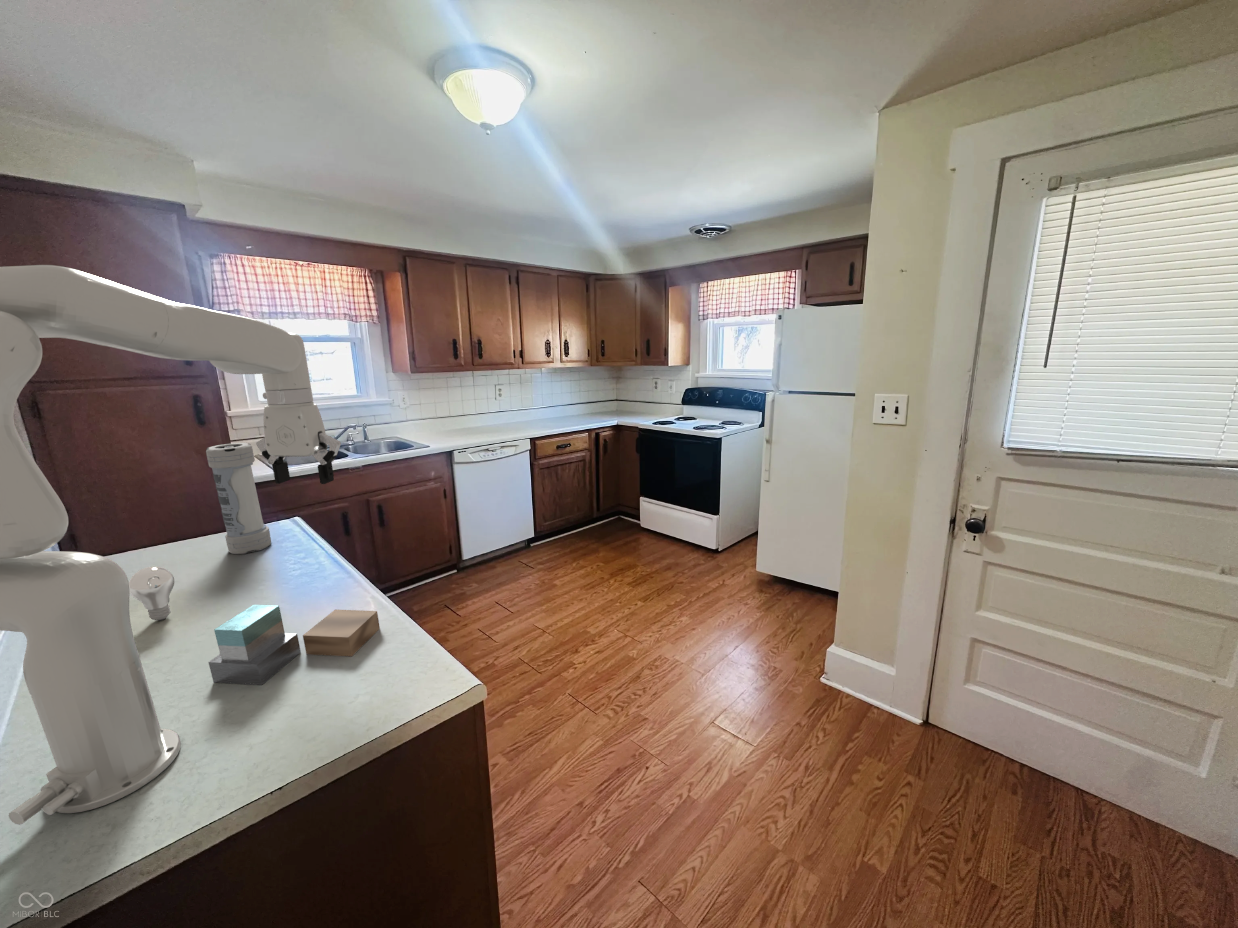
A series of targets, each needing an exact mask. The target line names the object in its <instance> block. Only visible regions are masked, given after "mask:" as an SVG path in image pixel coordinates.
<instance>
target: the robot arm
mask: <svg viewBox="0 0 1238 928" xmlns="http://www.w3.org/2000/svg"><path fill="white" fill-rule="evenodd" d="M40 338H41V339H43V338H44V339H47V338H48V339H50V338H51V339H53V338H57V339H58V338H59V339H60V338H61V339H67V340H68V339H69V340H75V341H81V342H85V343H90V344H93V345H94V344H95V345H98V346H103V347H110V348H114V349H118V350H124V351H128V352H133V353H136V354H141V355H146V356H150V357H152V358H153V357H154V358H158V359H159V358H160V359H166V360H168V359H170V360H177V361H194V362H195V361H196V362H197V361H201V362H202V361H209V363H210V365H212V366H213V367H214V368H216V369H218V370H219V371H222V372H225V373H228V374H233V375H261V377H262V380H263V387H264V392H263V393H262V398H263V399H264V400H266V402H267V405H265V406H264V409H263V432H264V437H263V438H261V439H260V440H258V441H256V443H255V445H256V446H257V448H258V450H259V451H260V452H261V455H262V456H263V457H264V458H265V459H266V460H267V463H268V465H271V466H272V467H271V468H272V472H273V477H274V483H275V484H276V485H277V484H279V485H280V484H282V483H285V482H287V481H290V480H291V475H290V470H289V465H288V461H287V460H286V461H284V460H285V458H286V457H287V458H294V457H295V458H296V457H297V458H298V457H300V458H303V457H311V456H312V457H313V458H314V459H315V460H316V461H317V462H318V463H319V464H317V470H318V471H317V473H318V477H319V482H320V484H321V485H326V484H328V483H331V482H333V481H334V479H335V477H334V475H335V474H334V469H333V462H334V461H335V458H336V457H337V456H338V455H339V451H340V447H341V445H342V443H341V441H340V440H338V439H336V438H334V437H332V436H330V435H328V434H327V433H326V429H325V425H324V422H323V421H324V420H323V418H322V415H321V413H320V410H319V408H318V405H317V403H314V396H313V390H312V386H311V379H310V373H309V368H308V367H309V366H308V361H307V354H306V349H305V344H304V340H303V338H302V337H301V335H299V334H297V333H293V332H287V331H286V330H284V329H282V328H280V327H277V326H274V325H272V324H269V323H266V322H264V321H260V320H257V319H254V318H250V317H247V316H246V317H245V316H241V315H239V314H238V315H237V314H234V313H233V314H232V313H228V312H224V311H218V310H213V309H208V308H205V307H200V306H196V305H192V304H186V303H180V302H175V301H172V300H168V299H166V298H163V297H160V296H156V295H154V294H151V293H148V292H146V291H145V292H144V291H141V290H139V289H135V288H132V287H130V286H127V285H123V284H120V283H117V282H115V281H112V280H109V279H105V278H103V277H99V276H97V275H94V274H91V273H87V272H84V271H81V270H79V269H75V268H71V267H65V266H60V265H53V264H36V265H35V264H34V265H16V266H15V265H13V266H9V265H8V266H0V631H1V632H2V631H4V632H5V631H6V632H13V633H22V634H24V637H25V638H26V648H25V652H24V656H23V661H22V662H23V663H22V673H23V677H24V681H25V684H26V687H27V690H28V693H29V695H30V696H31V699H32V702H33V705H34V708H35V710H36V713H37V715H38V718H39V721H40V725H41V728H42V729H43V730H42V731H43V732H44V736H45V738H46V741H47V744H48V745H49V749H50V752H51V754H52V756H53V759H54V763H55V767H54V768H52V769H50V770H49V771H48V772H47V773H46V774H45V775H46V778H47V780H48V782H47V783H46V784H44V785H43V786H41V788H40V791H39V792H38V793H36V794H35V795H33V796H32V797H30V798H29V799H27V800H25V801H24V802H23V803H22V804H20V805H18V806H17V807H16V808H14V809H13V810H11V812H9V813H8V819H9V821H11V822H12V823H14V824H15V825H20V826H21V825H23V824H24V823H26V822H27V821H29V820H30V819H31V818H32V817H33V816H35V815H37V814H38V813H40V811H43V812H44V813H45V814H46V815H49V816H51V815H54V813H60V814H74V813H81V812H82V813H83V812H86V811H90V810H94V809H98V808H100V807H103V806H106V805H109V804H111V803H114V802H115V801H116V802H117V800H118V801H119V800H120V799H123V798H124V797H126V796H128V795H130V794H132V793H134V792H135V791H137V790H139V789H141V788H142V787H143V786H145V785H147V784H148V783H150V782H152V781H153V780H154V779H155V778H156V777H158V776H159V775H160V774H161V773H163V772H164V771H165V770H167V768H168V767H169V766H170V765H171V764H172V763H173V761H174V760H175V758H176V757H177V756H178V755H179V752H180V750H181V746H182V743H181V742H182V741H181V738H180V735H179V734H178V732H176V731H174V730H173V729H168V728H161V725H160V722H159V719H158V715H157V712H156V708H155V705H154V701H153V698H152V695H151V694H152V693H151V690H150V688H149V685H148V681H147V678H146V675H145V674H146V673H145V671H144V668H143V664H142V660H141V658H140V657H141V656H140V654H139V651H138V648H137V644H136V641H135V637H134V633H133V628H132V623H131V616H130V615H131V614H130V596H131V594H130V592H129V581H130V580H129V578H128V576H127V574H126V572H125V570H124V568H122V567H121V566H120V565H119V564H118V563H116V562H115V561H113V560H112V559H110V558H108V557H105V556H103V555H98V554H95V553H90V552H81V551H62V550H61V551H60V550H57V551H56V550H55V551H54V550H50V551H49V549H50V548H52V547H53V546H55V545H57V543H59V542H60V541H61V540H62V539H63V538H64V537H65V536H66V533H67V531H68V527H69V516H68V513H67V510H66V507H65V506H64V504H63V502H62V500H61V499H60V497H59V495H58V494H57V492H56V491H55V490H54V488H53V487H52V485H51V484H50V482H49V480H48V479H47V477H46V476H45V474H44V473H43V471H42V470H41V469H40V467H39V466H38V464H37V463H36V461H35V460H34V458H33V457H32V455H31V454H30V452H29V450H28V449H27V448H26V446H25V443H24V442H23V440H22V439H21V436H20V434H19V432H18V429H17V428H16V425H15V420H14V416H15V415H14V414H15V407H16V403H17V400H18V398H19V397H20V394H21V392H22V390H23V388H25V386H26V385H27V383H28V382H29V381H31V380H30V379H32V377H33V376H34V375H35V374H36V372H37V371H38V369H39V367H40V365H41V363H42V358H43V346H42V342H41V339H40ZM328 447H329V450H328Z"/></svg>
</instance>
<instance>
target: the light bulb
mask: <svg viewBox="0 0 1238 928" xmlns="http://www.w3.org/2000/svg"><path fill="white" fill-rule="evenodd" d="M128 581H129V593H130V596H132V598H134V599H135V600H137V601H138V602H140V603H142V605H143V607H144V608H145V609H146V611H147V613H148V618H149V619H151V620H154V621H157V622H162V621H165V620H166V618H167V617H169V615H170V614H171V608H170V605H169V603H170V595H171V593H172V591H173V589H174V586H175V576H174V575H173V573H172V572H171V570H169V569H167V568H165V567H161V566H156V565H155V566H147V567H144V568H141V569H140V570H138V571H136V572H135V573H134V574H133V575H132V576H131V578H130V579H129V580H128Z"/></svg>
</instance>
